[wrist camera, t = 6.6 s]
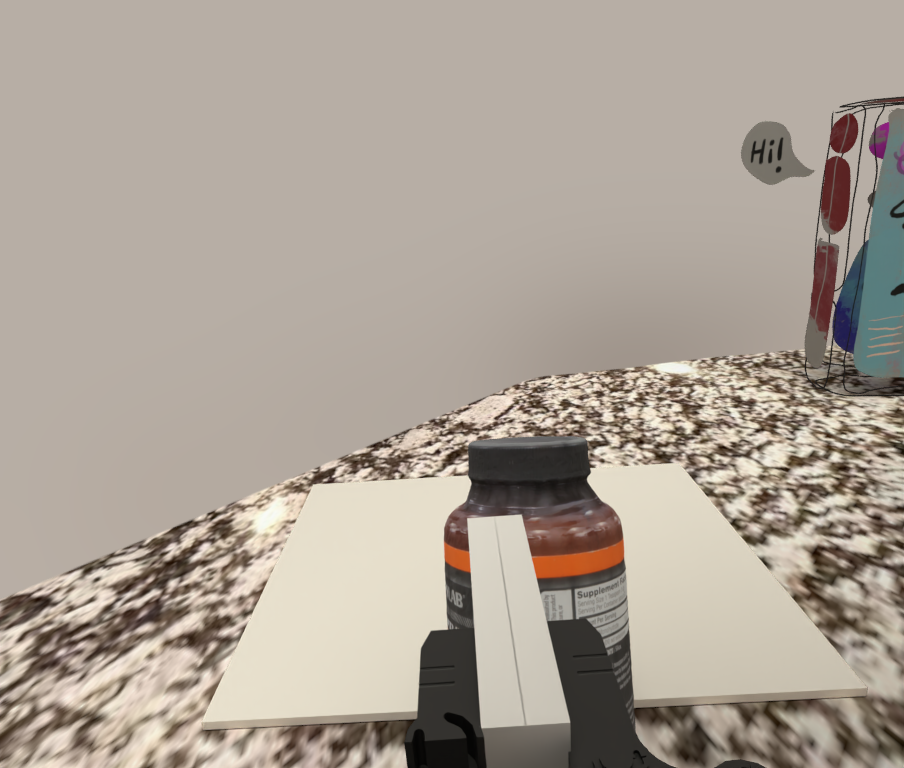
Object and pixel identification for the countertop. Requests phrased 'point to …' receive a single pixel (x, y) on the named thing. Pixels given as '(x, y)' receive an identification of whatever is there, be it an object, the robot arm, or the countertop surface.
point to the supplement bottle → (548, 538)
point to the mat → (424, 606)
